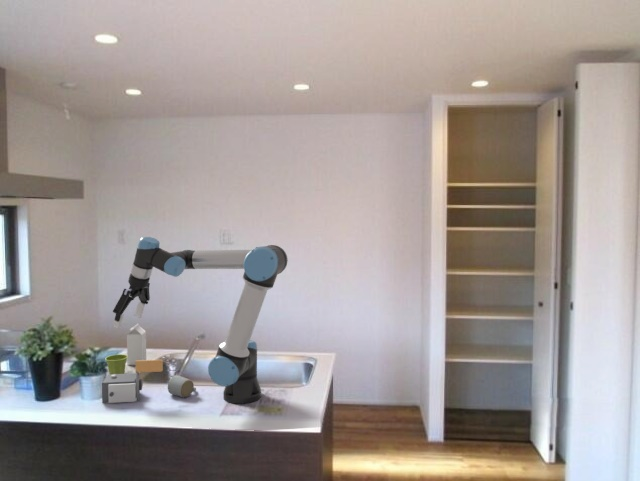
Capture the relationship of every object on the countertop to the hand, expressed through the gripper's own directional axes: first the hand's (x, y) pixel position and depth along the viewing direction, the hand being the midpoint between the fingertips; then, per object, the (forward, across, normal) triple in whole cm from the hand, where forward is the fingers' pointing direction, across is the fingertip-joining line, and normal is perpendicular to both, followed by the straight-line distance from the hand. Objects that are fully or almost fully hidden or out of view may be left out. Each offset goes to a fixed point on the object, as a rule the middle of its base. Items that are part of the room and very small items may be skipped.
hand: (127, 322), depth 202 cm
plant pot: (+37, -15, -6) cm, 40 cm away
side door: (+24, +9, +19) cm, 32 cm away
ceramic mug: (+21, -4, +31) cm, 38 cm away
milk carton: (+40, -34, -9) cm, 53 cm away
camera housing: (+28, +6, +10) cm, 30 cm away
